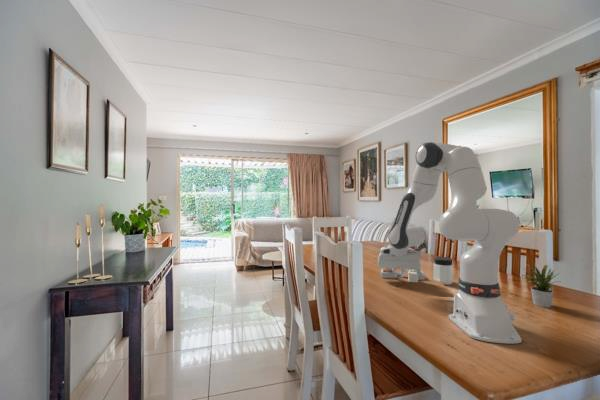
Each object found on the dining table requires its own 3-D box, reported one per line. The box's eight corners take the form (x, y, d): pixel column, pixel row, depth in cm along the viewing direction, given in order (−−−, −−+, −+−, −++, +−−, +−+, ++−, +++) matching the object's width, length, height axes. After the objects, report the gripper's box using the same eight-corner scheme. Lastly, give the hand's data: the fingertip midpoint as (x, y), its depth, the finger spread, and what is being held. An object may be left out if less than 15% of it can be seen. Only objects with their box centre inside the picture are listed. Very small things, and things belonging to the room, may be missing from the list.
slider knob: (418, 282, 138) (418, 274, 138) (409, 281, 139) (409, 274, 139) (416, 279, 142) (416, 272, 142) (408, 279, 143) (408, 272, 143)
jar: (448, 286, 136) (448, 261, 136) (431, 282, 142) (431, 258, 142) (455, 282, 142) (455, 258, 142) (438, 278, 148) (438, 256, 148)
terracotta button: (392, 273, 147) (392, 265, 147) (384, 272, 148) (384, 265, 148) (391, 271, 151) (391, 263, 151) (383, 270, 152) (383, 263, 152)
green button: (421, 277, 144) (421, 269, 144) (412, 277, 145) (412, 269, 145) (419, 275, 148) (419, 267, 148) (411, 275, 148) (411, 267, 148)
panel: (430, 286, 135) (429, 278, 135) (382, 283, 140) (382, 275, 140) (424, 278, 149) (424, 270, 149) (380, 276, 154) (380, 268, 154)
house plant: (521, 294, 123) (521, 257, 122) (565, 303, 113) (565, 262, 113) (515, 304, 113) (515, 263, 112) (563, 314, 103) (563, 269, 103)
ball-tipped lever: (404, 277, 146) (410, 265, 146) (400, 276, 147) (406, 264, 146) (403, 276, 149) (409, 264, 148) (399, 274, 149) (405, 263, 148)
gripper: (419, 249, 143) (419, 276, 143) (377, 247, 147) (377, 274, 148) (421, 251, 136) (421, 280, 137) (377, 250, 141) (378, 277, 141)
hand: (398, 277), depth 142 cm, fingers closed
